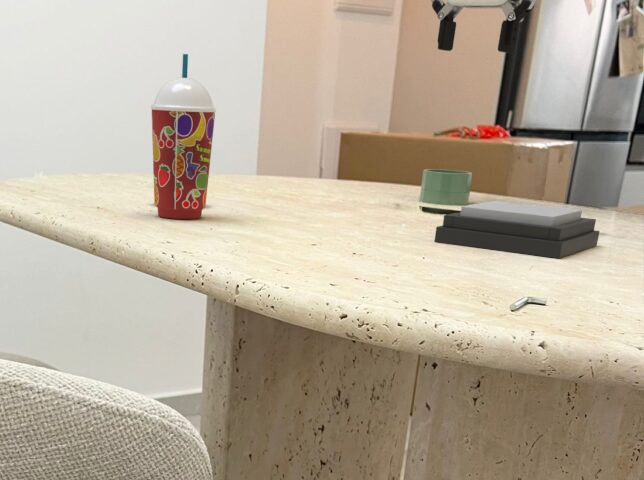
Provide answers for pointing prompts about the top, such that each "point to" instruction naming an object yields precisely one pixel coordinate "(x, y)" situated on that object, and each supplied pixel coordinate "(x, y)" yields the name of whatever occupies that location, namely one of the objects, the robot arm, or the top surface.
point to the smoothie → (182, 146)
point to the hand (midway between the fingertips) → (474, 51)
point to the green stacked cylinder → (445, 189)
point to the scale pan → (522, 213)
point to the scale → (518, 235)
